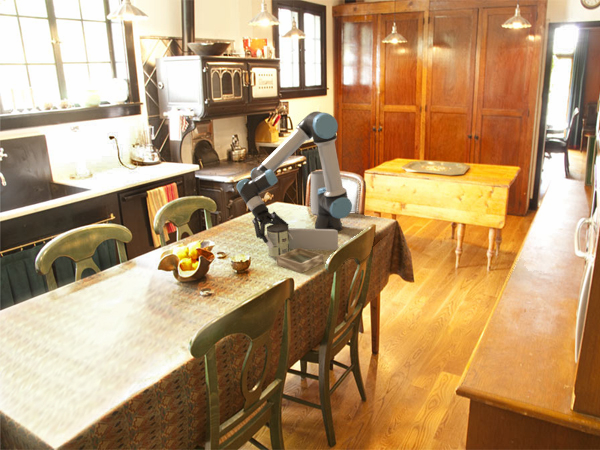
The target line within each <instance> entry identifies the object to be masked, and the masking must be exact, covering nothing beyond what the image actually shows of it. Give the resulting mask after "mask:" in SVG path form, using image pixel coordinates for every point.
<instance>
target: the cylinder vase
mask: <svg viewBox="0 0 600 450" xmlns="http://www.w3.org/2000/svg"><path fill="white" fill-rule="evenodd" d="M324 187H326V186H325V181H324V176H323V171H322V170H314V171H311V172H310V205H311V208H310V209H311V211H310V212H311V214H313V215H315V216H318V195H317V194H318V189H320V188H324Z"/></svg>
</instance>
